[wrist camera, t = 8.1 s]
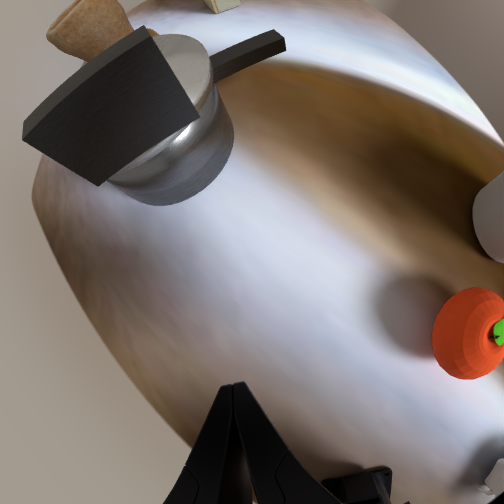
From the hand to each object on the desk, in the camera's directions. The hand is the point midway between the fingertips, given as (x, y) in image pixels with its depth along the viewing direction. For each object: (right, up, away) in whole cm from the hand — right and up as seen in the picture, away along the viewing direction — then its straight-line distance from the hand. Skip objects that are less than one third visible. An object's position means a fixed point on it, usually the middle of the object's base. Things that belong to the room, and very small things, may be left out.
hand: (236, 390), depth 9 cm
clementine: (+18, -2, +10) cm, 21 cm away
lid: (-9, +17, +10) cm, 22 cm away
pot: (-5, +17, +18) cm, 25 cm away
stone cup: (-16, +30, +23) cm, 41 cm away
